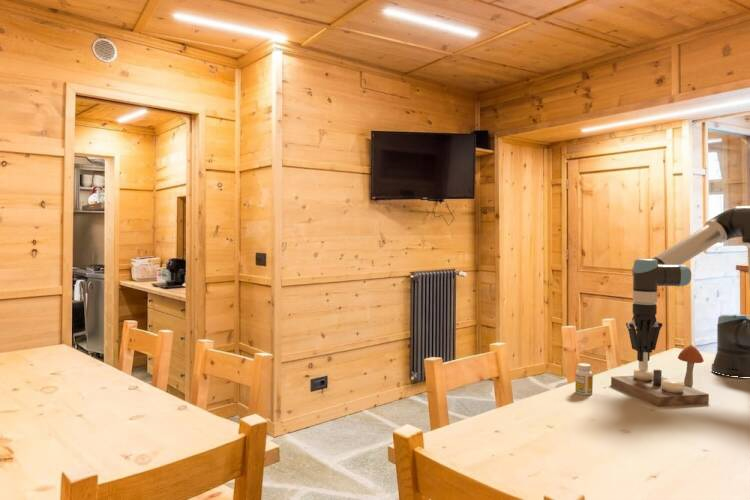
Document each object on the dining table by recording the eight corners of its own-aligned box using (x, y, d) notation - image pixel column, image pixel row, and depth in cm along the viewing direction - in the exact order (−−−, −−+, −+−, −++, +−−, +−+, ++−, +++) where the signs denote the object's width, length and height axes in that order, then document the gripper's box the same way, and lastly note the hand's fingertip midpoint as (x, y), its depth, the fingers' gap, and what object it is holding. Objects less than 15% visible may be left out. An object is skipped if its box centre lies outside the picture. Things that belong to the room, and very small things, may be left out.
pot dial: (657, 383, 181) (658, 368, 180) (662, 385, 178) (663, 370, 178) (651, 384, 180) (651, 368, 180) (656, 386, 178) (656, 370, 178)
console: (655, 382, 193) (656, 374, 193) (708, 403, 169) (708, 394, 169) (611, 385, 189) (611, 376, 189) (658, 406, 166) (658, 397, 166)
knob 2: (673, 395, 176) (673, 379, 176) (687, 401, 170) (687, 384, 170) (657, 396, 175) (657, 380, 175) (670, 402, 169) (671, 385, 169)
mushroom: (708, 390, 183) (709, 347, 183) (684, 390, 183) (685, 347, 183) (694, 384, 191) (695, 342, 191) (672, 383, 191) (673, 342, 191)
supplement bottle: (589, 390, 182) (590, 362, 182) (594, 395, 177) (595, 366, 177) (573, 390, 183) (573, 362, 182) (577, 395, 177) (578, 366, 177)
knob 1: (644, 383, 190) (645, 368, 189) (656, 388, 184) (656, 372, 184) (629, 384, 188) (630, 369, 188) (641, 389, 183) (641, 373, 182)
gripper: (653, 301, 190) (652, 366, 191) (621, 302, 188) (619, 368, 188) (668, 304, 183) (667, 372, 183) (635, 304, 180) (633, 373, 181)
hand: (643, 370), depth 186 cm, fingers closed
